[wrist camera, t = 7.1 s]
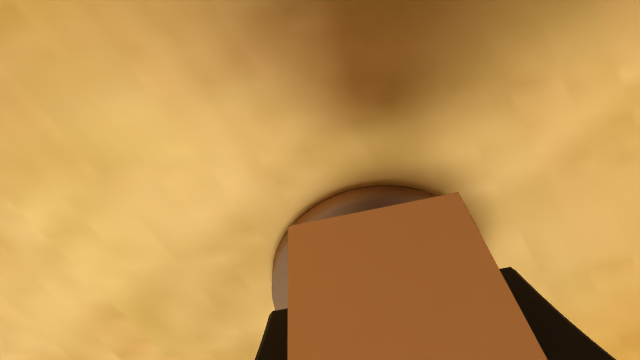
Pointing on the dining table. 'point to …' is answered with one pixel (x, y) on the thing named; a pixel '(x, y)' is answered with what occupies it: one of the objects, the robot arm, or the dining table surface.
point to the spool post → (333, 208)
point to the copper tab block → (401, 288)
